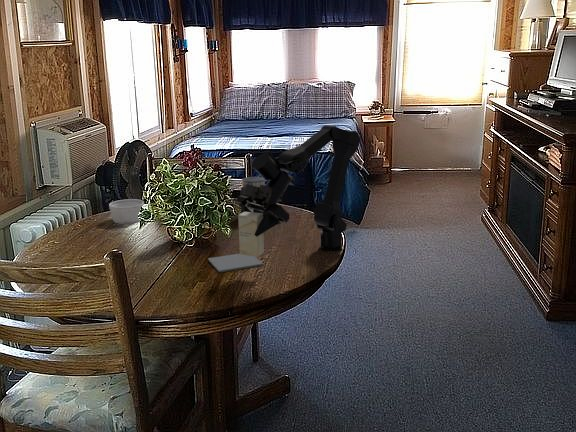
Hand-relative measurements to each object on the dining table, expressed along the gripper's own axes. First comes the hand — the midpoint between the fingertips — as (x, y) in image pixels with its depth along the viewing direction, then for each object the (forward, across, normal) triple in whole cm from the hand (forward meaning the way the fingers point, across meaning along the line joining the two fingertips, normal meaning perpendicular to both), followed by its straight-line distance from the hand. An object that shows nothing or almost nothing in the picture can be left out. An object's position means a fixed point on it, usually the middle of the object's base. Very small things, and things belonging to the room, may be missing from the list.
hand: (247, 233), depth 180 cm
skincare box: (+4, 0, +6) cm, 7 cm away
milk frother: (-20, -45, +40) cm, 63 cm away
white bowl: (+7, -80, +12) cm, 81 cm away
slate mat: (+7, -12, +12) cm, 18 cm away
